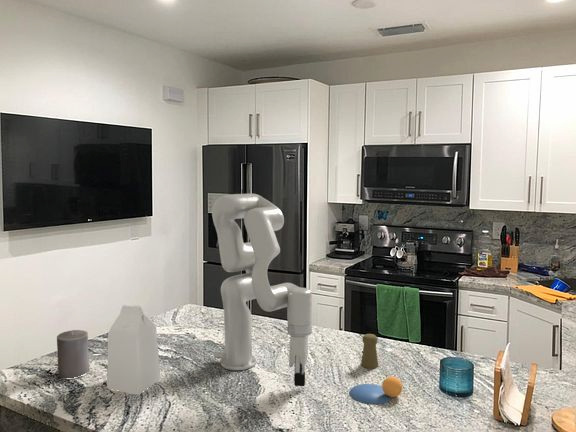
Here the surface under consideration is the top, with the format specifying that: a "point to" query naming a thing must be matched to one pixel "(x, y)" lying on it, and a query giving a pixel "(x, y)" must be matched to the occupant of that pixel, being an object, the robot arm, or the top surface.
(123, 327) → the milk
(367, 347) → the olive chess pawn
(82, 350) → the pillar candle
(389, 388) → the ball
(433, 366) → the top surface
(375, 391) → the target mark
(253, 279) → the robot arm
